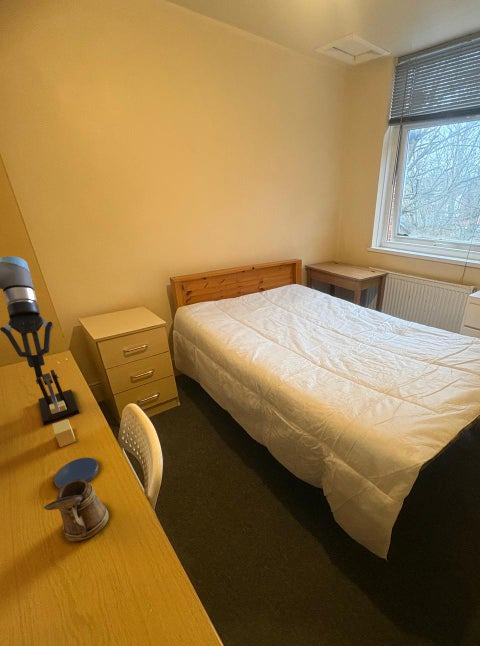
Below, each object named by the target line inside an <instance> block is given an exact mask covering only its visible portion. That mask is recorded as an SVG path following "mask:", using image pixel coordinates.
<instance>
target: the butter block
mask: <svg viewBox="0 0 480 646" xmlns="http://www.w3.org/2000/svg"><path fill="white" fill-rule="evenodd" d="M51 425H52V429H53V434H54V436H55V438H56V441H57V443H58V445H59V447H60V448H63V447H64V446H67V445H70V444H73V443H75V442H77V440H76V436H75V434H74V430H73V428H72V425H71V424H70V420H69V419H68V418H65V419H62V420H59V421H56V422H53V423H51Z"/></svg>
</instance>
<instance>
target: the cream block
mask: <svg viewBox="0 0 480 646" xmlns="http://www.w3.org/2000/svg"><path fill="white" fill-rule="evenodd" d="M58 405H59V408H60V410H61V411H63V410H66V409H67V408H66V406H65V403H64V401H60V402H58ZM49 407H50V411H51V413H52V414H54V413H56V410H55V407H54V404H50V405H49Z"/></svg>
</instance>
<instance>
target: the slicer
mask: <svg viewBox="0 0 480 646" xmlns="http://www.w3.org/2000/svg"><path fill="white" fill-rule="evenodd" d="M49 373H50V375H51V378H52V381H53V383H54V385H55V388H56V390H57V393H55V396H56V399H57V402H60V401H64V403H65V406H66V408H67V409H69V408H70V411H71V413H69V414H66V415H63V416H60V417H57V418H54V419H51V420H49V419H48V417H47V416H48V415H51V414H52V413H51V411H50V407H49V405H50V404H53V401H52V398H51V395H50V394H49V392H48V391H47V388H46V385H45V384H44V382H43V379H42V377H38V378H37V377H36V376H35V383H36V385H38V386H39V389H40V390H41V392H42V395H43V397H40V398H38V406H39V410H40V411H39V412H40V415H41V421H42V424H43V425H44V426H46V425H49V424H53V423H56V422H59V421H62V420H65V419H68V418H71V417H72V416H76V415H78V414H80V410H79V407H78V404H77V402H76V399H75V395H74V392H73V390H72V389H68V390H64V391H63V389H62V386H61V384H60V382H59V374H57V373H56V372H55V370H54V369H50V372H49Z"/></svg>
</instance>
